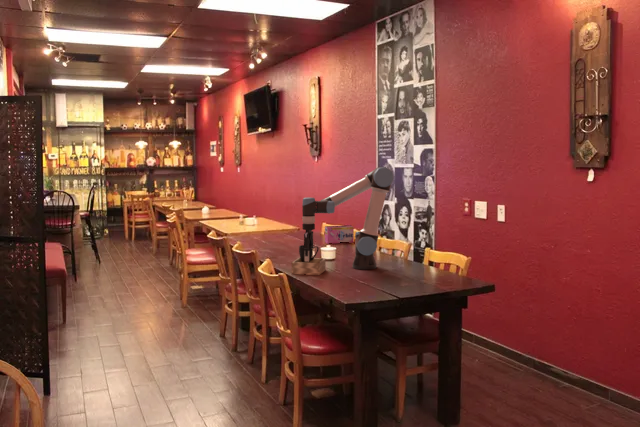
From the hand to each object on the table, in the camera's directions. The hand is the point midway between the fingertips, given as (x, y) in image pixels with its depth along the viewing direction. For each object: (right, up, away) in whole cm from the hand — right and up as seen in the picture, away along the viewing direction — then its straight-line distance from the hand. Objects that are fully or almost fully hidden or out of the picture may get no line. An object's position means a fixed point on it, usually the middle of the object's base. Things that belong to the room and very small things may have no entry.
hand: (308, 260), depth 359 cm
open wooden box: (0, -7, +1) cm, 7 cm away
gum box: (+23, +4, +125) cm, 127 cm away
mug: (0, -1, +1) cm, 1 cm away
